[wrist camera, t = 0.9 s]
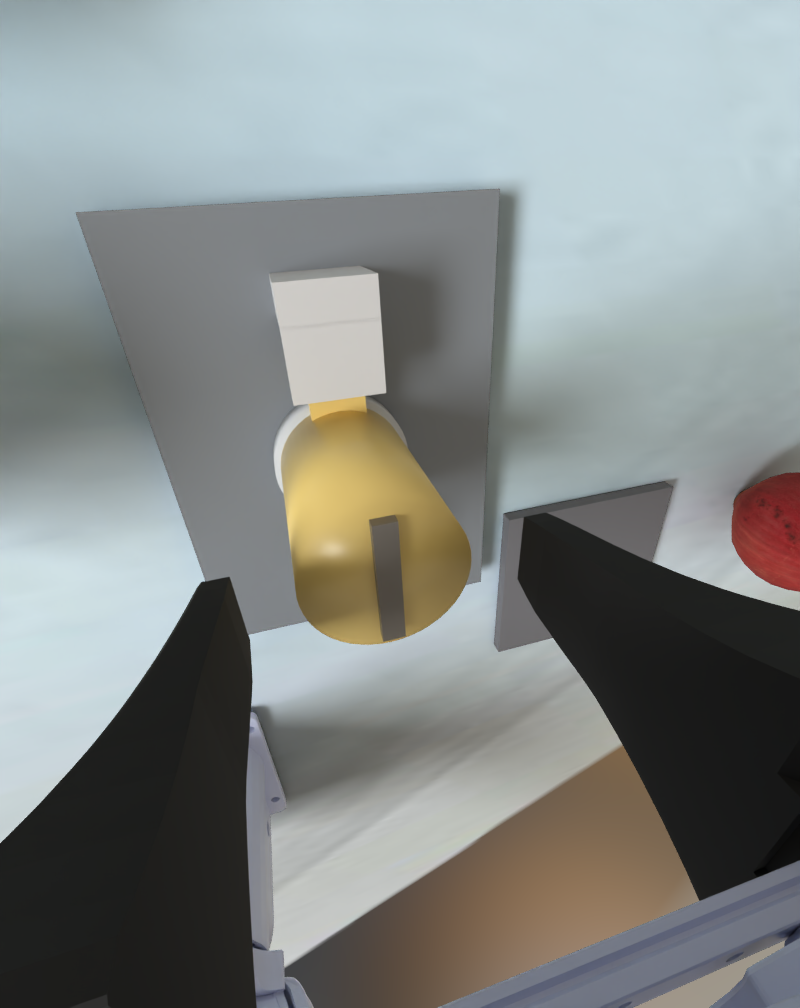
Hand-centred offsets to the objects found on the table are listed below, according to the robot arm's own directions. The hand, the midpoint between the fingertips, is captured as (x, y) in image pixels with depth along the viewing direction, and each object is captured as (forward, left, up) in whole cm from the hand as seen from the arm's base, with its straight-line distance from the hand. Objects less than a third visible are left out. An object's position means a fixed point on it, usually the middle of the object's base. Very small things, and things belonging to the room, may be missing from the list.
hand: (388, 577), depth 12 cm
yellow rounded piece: (0, 0, -7) cm, 7 cm away
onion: (-7, -22, -9) cm, 25 cm away
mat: (-10, -12, -9) cm, 18 cm away
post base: (0, 0, -9) cm, 9 cm away
